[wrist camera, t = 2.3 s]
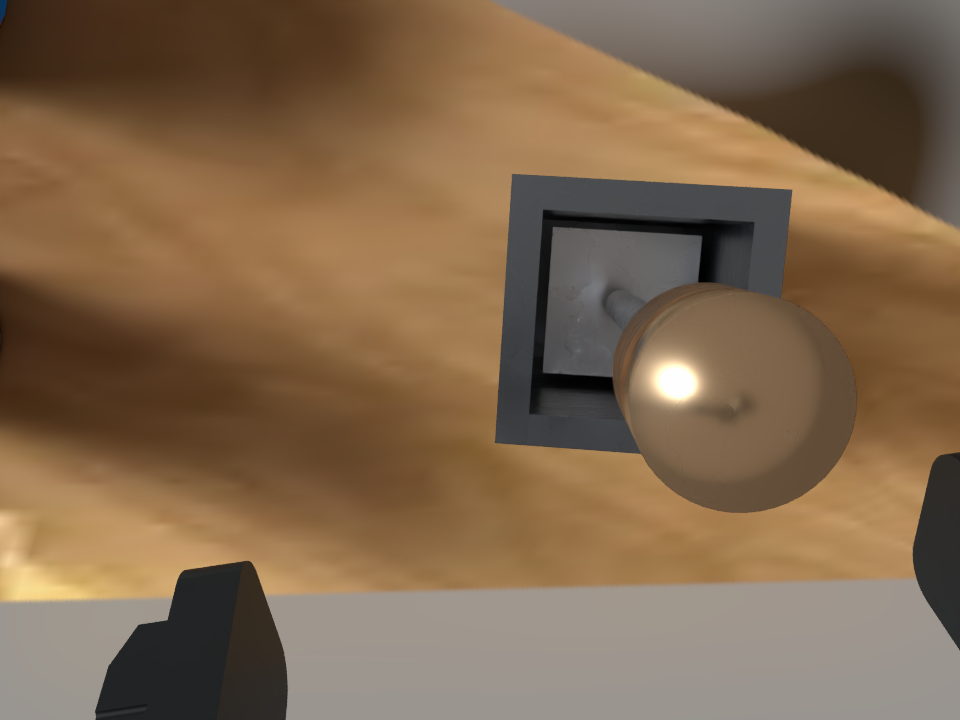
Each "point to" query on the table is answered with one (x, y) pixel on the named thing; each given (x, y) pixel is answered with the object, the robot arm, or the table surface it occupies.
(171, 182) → the table surface
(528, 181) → the press tower
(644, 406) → the plunger
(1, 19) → the thermos
